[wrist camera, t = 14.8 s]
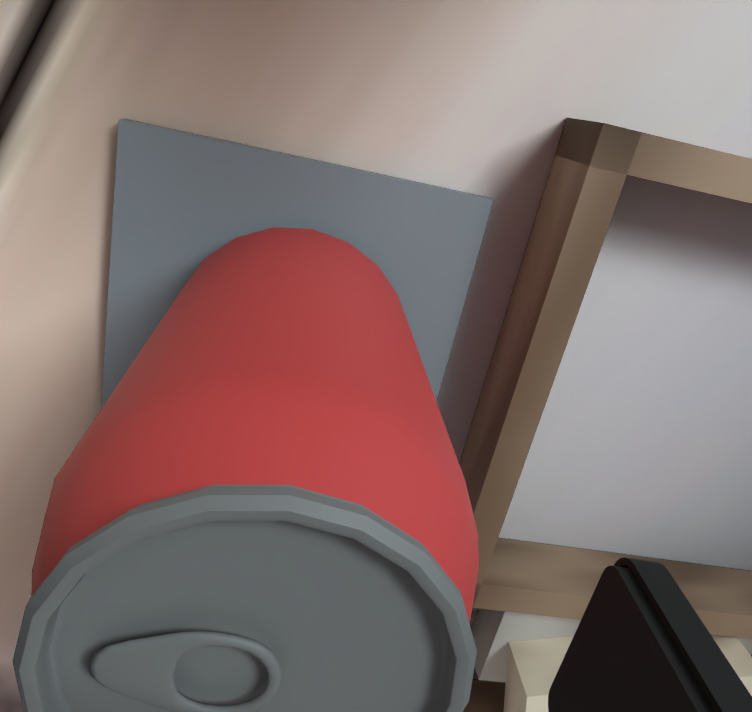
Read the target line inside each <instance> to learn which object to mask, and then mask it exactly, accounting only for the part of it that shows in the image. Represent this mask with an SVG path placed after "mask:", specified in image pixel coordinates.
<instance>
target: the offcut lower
mask: <svg viewBox="0 0 752 712" xmlns="http://www.w3.org/2000/svg"><path fill="white" fill-rule="evenodd" d="M580 621H581V620H577V619H568V618H560V617H551V616H542V615H533V614H524V613H515V612H506V611H497V610H488V609H479V612H478V614H477V617H476V620H475V623H474V626H473V628H472V635H473V638H474V642H475V646H476V649H477V655H476V661H475V669H476V672H477V676H478V680H484V681H495V682H506V670H507V657H508V644H509V642H512V641H524V640H535V639H547V638H558V637H569V636H574V634H575V632H576V630H577V628H578V626H579V623H580ZM737 638H738V637H737ZM738 639H739V640H740V642H741V643H742V644H743V646H744V647H745V648H746V650H747V651H748V652H749V654H750V655H751V654H752V639H747V638H738Z"/></svg>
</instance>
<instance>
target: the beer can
mask: <svg viewBox="0 0 752 712" xmlns="http://www.w3.org/2000/svg"><path fill="white" fill-rule="evenodd" d="M478 568H479V553H478V531H477V527H476V523H475V519H474V515H473V511H472V507H471V502H470V498H469V494H468V490H467V486H466V482H465V479H464V476H463V473H462V470H461V468H460V465H459V462H458V459H457V457H456V454H455V451H454V448H453V446H452V443H451V440H450V437H449V435H448V432H447V429H446V426H445V424H444V421H443V418H442V415H441V412H440V410H439V407H438V404H437V401H436V399H435V396H434V393H433V390H432V388H431V385H430V382H429V379H428V377H427V374H426V371H425V368H424V366H423V363H422V360H421V357H420V355H419V352H418V349H417V346H416V344H415V341H414V338H413V335H412V333H411V330H410V327H409V324H408V321H407V319H406V316H405V313H404V310H403V308H402V305H401V302H400V299H399V297H398V295H397V293H396V292H395V290H394V289H393V287H392V286H391V284H390V282H389V281H388V279H387V278H386V276H385V275H384V273H383V272H382V270H381V269H380V267H379V266H378V265H377V264H376V263H374V262H373V261H372V260H371V259H369V258H368V257H367V256H366V255H364V254H363V253H362V252H360V251H359V250H358V249H357V248H355V247H354V246H353V245H351V244H350V243H349V242H346V241H344V240H341V239H338V238H335V237H333V236H330V235H327V234H325V233H322V232H319V231H316V230H314V229H301V228H277V227H272V228H269V229H265V230H262V231H258V232H254V233H251V234H247V235H244V236H240V237H236V238H234V239H233V240H231V241H230V242H229V243H227V244H226V245H224V246H223V247H221V248H220V249H218V250H217V251H215V252H214V253H212V254H211V255H209V256H208V257H207V258H205V259H204V260H203V261H202V263H201V264H200V266H199V267H198V268H197V270H196V271H195V272H194V274H193V275H192V276H191V278H190V279H189V281H188V282H187V283H186V285H185V286H184V287H183V289H182V290H181V292H180V293H179V295H178V296H177V298H176V299H175V301H174V302H173V304H172V305H171V307H170V308H169V310H168V311H167V313H166V314H165V316H164V317H163V319H162V320H161V321H160V323H159V324H158V326H157V327H156V329H155V330H154V332H153V333H152V335H151V336H150V338H149V339H148V341H147V342H146V344H145V345H144V347H143V348H142V350H141V351H140V353H139V354H138V356H137V357H136V359H135V360H134V362H133V363H132V365H131V366H130V368H129V369H128V371H127V372H126V373H125V375H124V376H123V378H122V379H121V381H120V382H119V384H118V385H117V387H116V388H115V390H114V391H113V393H112V394H111V396H110V397H109V399H108V400H107V402H106V403H105V405H104V406H103V408H102V409H101V411H100V412H99V414H98V415H97V417H96V418H95V420H94V421H93V423H92V424H91V426H90V427H89V428H88V430H87V431H86V433H85V434H84V436H83V437H82V439H81V440H80V442H79V443H78V445H77V446H76V448H75V449H74V451H73V452H72V454H71V455H70V457H69V458H68V460H67V461H66V463H65V464H64V466H63V467H62V469H61V470H60V472H59V473H58V475H57V476H56V478H55V480H54V484H53V488H52V491H51V495H50V499H49V503H48V507H47V511H46V515H45V519H44V523H43V527H42V531H41V535H40V540H39V544H38V548H37V552H36V556H35V560H34V565H33V569H32V597H31V598H30V600H29V602H28V603H27V605H26V608H25V612H24V616H23V620H22V625H21V629H20V633H19V637H18V641H17V645H16V649H15V654H14V658H13V665H14V670H15V674H16V679H17V683H18V688H19V693H20V697H21V702H22V706H23V711H24V712H463V710H464V709H465V707H466V705H467V704H468V702H469V698H470V692H471V686H472V679H473V673H474V667H475V661H476V655H477V649H476V646H475V642H474V638H473V635H472V631H471V627H470V620H471V614H472V608H473V601H474V595H475V588H476V582H477V575H478Z"/></svg>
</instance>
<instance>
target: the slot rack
mask: <svg viewBox="0 0 752 712" xmlns="http://www.w3.org/2000/svg"><path fill="white" fill-rule="evenodd" d="M627 175H630V176H635V177H639V178H643V179H648V180H652V181H656V182H661V183H665V184H669V185H674V186H678V187H682V188H687V189H691V190H695V191H700V192H704V193H708V194H713V195H717V196H721V197H726V198H730V199H735V200H739V201H743V202H748V203H752V159H749V158H745V157H741V156H737V155H733V154H728V153H724V152H720V151H716V150H712V149H708V148H704V147H700V146H695V145H691V144H687V143H683V142H679V141H675V140H671V139H667V138H662V137H658V136H654V135H650V134H646V133H642V132H638V131H634V130H629V129H625V128H621V127H617V126H613V125H609V124H605V123H599V122H592V121H585V120H579V119H572V118H566V122H565V125H564V128H563V131H562V135H561V138H560V141H559V144H558V147H557V151H556V154H555V157H554V160H553V163H552V167H551V170H550V173H549V176H548V180H547V183H546V186H545V189H544V192H543V196H542V199H541V202H540V205H539V208H538V212H537V215H536V218H535V221H534V225H533V228H532V231H531V234H530V237H529V241H528V244H527V247H526V250H525V254H524V257H523V260H522V263H521V266H520V270H519V273H518V276H517V279H516V282H515V286H514V289H513V292H512V295H511V299H510V302H509V305H508V308H507V311H506V315H505V318H504V321H503V324H502V327H501V331H500V334H499V337H498V340H497V344H496V347H495V350H494V353H493V356H492V360H491V363H490V366H489V369H488V372H487V376H486V379H485V382H484V385H483V389H482V392H481V395H480V398H479V401H478V405H477V408H476V411H475V414H474V418H473V421H472V424H471V427H470V430H469V434H468V437H467V440H466V443H465V446H464V450H463V453H462V456H461V459H460V463H459V465H460V468H461V470H462V473H463V476H464V479H465V482H466V486H467V490H468V494H469V498H470V502H471V507H472V511H473V515H474V519H475V523H476V527H477V531H478V553H479V568H478V575H477V582H476V588H475V595H474V601H473V608H479V609H488V610H497V611H506V612H515V613H524V614H533V615H542V616H551V617H560V618H568V619H577V620H581V619H582V617H583V615H584V612H585V610H586V608H587V606H588V604H589V601H590V599H591V597H592V595H593V593H594V590H595V588H596V586H597V584H598V582H599V579H600V577H601V575H602V573H603V571H604V570H605V568H606V567H608V566H614V564H615V563H616V561H617V560H619V559H620V558H625V557H626V558H633V559H639V560H646V561H653V562H659V563H661V564H663V565H664V566H665V567H666V568H667V570H668V571H669V573H670V574H671V576H672V577H673V579H674V580H675V582H676V583H677V585H678V586H679V588H680V589H681V591H682V592H683V594H684V595H685V597H686V598H687V600H688V601H689V603H690V604H691V606H692V607H693V609H694V610H695V612H696V613H697V615H698V616H699V618H700V619H701V621H702V622H703V624H704V625H705V627H706V628H707V630H708V631H709V633H710V634H711V635H720V636H729V637H738V638H747V639H752V571H748V570H740V569H733V568H725V567H717V566H710V565H702V564H694V563H687V562H679V561H671V560H664V559H656V558H649V557H641V556H633V555H626V554H618V553H610V552H603V551H595V550H587V549H580V548H572V547H564V546H557V545H549V544H542V543H534V542H526V541H519V540H511V539H503V538H498V536H499V533H500V530H501V528H502V525H503V522H504V519H505V516H506V514H507V511H508V508H509V505H510V502H511V500H512V497H513V494H514V491H515V488H516V485H517V483H518V480H519V477H520V474H521V471H522V469H523V466H524V463H525V460H526V457H527V455H528V452H529V449H530V446H531V443H532V441H533V438H534V435H535V432H536V429H537V426H538V424H539V421H540V418H541V415H542V412H543V410H544V407H545V404H546V401H547V398H548V396H549V393H550V390H551V387H552V384H553V381H554V379H555V376H556V373H557V370H558V367H559V365H560V362H561V359H562V356H563V353H564V351H565V348H566V345H567V342H568V339H569V337H570V334H571V331H572V328H573V325H574V322H575V320H576V317H577V314H578V311H579V308H580V306H581V303H582V300H583V297H584V294H585V292H586V289H587V286H588V283H589V280H590V278H591V275H592V272H593V269H594V266H595V263H596V261H597V258H598V255H599V252H600V249H601V247H602V244H603V241H604V238H605V235H606V233H607V230H608V227H609V224H610V221H611V218H612V216H613V213H614V210H615V207H616V204H617V202H618V199H619V196H620V193H621V190H622V188H623V185H624V182H625V179H626V176H627ZM473 608H472V609H473ZM751 656H752V654H751ZM505 684H506V683H500V682H489V681H478V680H472V686H471V692H470V698H469V702H468V704H467V705H466V707H465V709H464V710H463V712H503V710H504V697H505Z"/></svg>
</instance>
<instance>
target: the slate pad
mask: <svg viewBox="0 0 752 712" xmlns="http://www.w3.org/2000/svg"><path fill="white" fill-rule="evenodd" d="M492 204H493V200H492V199H490V198H488V197H484V196H479V195H474V194H470V193H465V192H460V191H456V190H451V189H447V188H442V187H437V186H433V185H428V184H423V183H419V182H414V181H410V180H405V179H400V178H396V177H391V176H387V175H382V174H377V173H373V172H368V171H363V170H359V169H354V168H350V167H345V166H340V165H336V164H331V163H327V162H322V161H317V160H313V159H308V158H303V157H299V156H294V155H290V154H285V153H280V152H276V151H271V150H267V149H262V148H257V147H253V146H248V145H243V144H239V143H234V142H230V141H225V140H220V139H216V138H211V137H206V136H202V135H197V134H193V133H188V132H183V131H179V130H174V129H170V128H165V127H160V126H156V125H151V124H146V123H142V122H137V121H133V120H128V119H120V120H119V123H118V139H117V155H116V171H115V187H114V203H113V220H112V236H111V252H110V268H109V284H108V300H107V317H106V333H105V349H104V365H103V381H102V397H101V409H102V408H103V406H104V405H105V403H106V402H107V400H108V399H109V397H110V396H111V394H112V393H113V391H114V390H115V388H116V387H117V385H118V384H119V382H120V381H121V379H122V378H123V376H124V375H125V373H126V372H127V371H128V369H129V368H130V366H131V365H132V363H133V362H134V360H135V359H136V357H137V356H138V354H139V353H140V351H141V350H142V348H143V347H144V345H145V344H146V342H147V341H148V339H149V338H150V336H151V335H152V333H153V332H154V330H155V329H156V327H157V326H158V324H159V323H160V321H161V320H162V319H163V317H164V316H165V314H166V313H167V311H168V310H169V308H170V307H171V305H172V304H173V302H174V301H175V299H176V298H177V296H178V295H179V293H180V292H181V290H182V289H183V287H184V286H185V285H186V283H187V282H188V281H189V279H190V278H191V276H192V275H193V274H194V272H195V271H196V270H197V268H198V267H199V266H200V264H201V263H202V261H203V260H204V259H205V258H207V257H208V256H209V255H211V254H212V253H214V252H215V251H217V250H218V249H220V248H221V247H223V246H224V245H226V244H227V243H229V242H230V241H231V240H233V239H234V238H236V237H240V236H244V235H247V234H251V233H254V232H258V231H262V230H265V229H269V228H272V227H277V228H301V229H314V230H316V231H319V232H322V233H325V234H327V235H330V236H333V237H335V238H338V239H341V240H344V241H346V242H349V243H350V244H351V245H353V246H354V247H355V248H357V249H358V250H359V251H360V252H362V253H363V254H364V255H366V256H367V257H368V258H369V259H371V260H372V261H373V262H374V263H376V264H377V265H378V266H379V267H380V269H381V270H382V272H383V273H384V275H385V276H386V278H387V279H388V281H389V282H390V284H391V286H392V287H393V289H394V290H395V292H396V293H397V295H398V297H399V299H400V302H401V305H402V308H403V310H404V313H405V316H406V319H407V321H408V324H409V327H410V330H411V333H412V335H413V338H414V341H415V344H416V346H417V349H418V352H419V355H420V357H421V360H422V363H423V366H424V368H425V371H426V374H427V377H428V379H429V382H430V385H431V388H432V390H433V393H434V396H435V399H436V401H437V398H438V394H439V391H440V387H441V384H442V380H443V377H444V373H445V370H446V366H447V363H448V359H449V356H450V352H451V349H452V345H453V342H454V338H455V334H456V331H457V327H458V324H459V320H460V317H461V313H462V310H463V306H464V303H465V299H466V296H467V292H468V289H469V285H470V281H471V278H472V274H473V271H474V267H475V264H476V260H477V257H478V253H479V250H480V246H481V243H482V239H483V236H484V232H485V229H486V225H487V221H488V218H489V214H490V211H491V207H492Z"/></svg>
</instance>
